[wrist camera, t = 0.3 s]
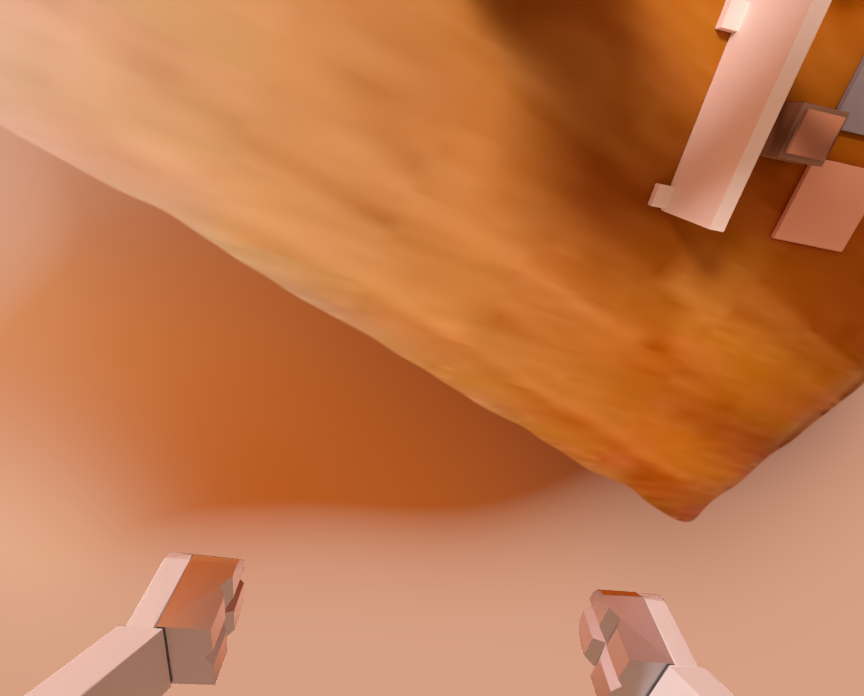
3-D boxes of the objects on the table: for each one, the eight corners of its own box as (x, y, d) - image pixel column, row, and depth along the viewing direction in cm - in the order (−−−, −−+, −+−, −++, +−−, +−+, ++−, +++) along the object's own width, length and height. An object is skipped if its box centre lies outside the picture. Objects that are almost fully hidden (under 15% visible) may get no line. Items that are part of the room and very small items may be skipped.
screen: (727, -5, 45) (805, -34, 36) (774, 8, 45) (862, -19, 36) (646, 207, 53) (692, 225, 44) (686, 215, 54) (740, 235, 45)
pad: (811, 156, 51) (815, 157, 51) (883, 172, 52) (888, 173, 52) (770, 237, 55) (773, 238, 55) (837, 250, 56) (841, 252, 56)
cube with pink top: (771, 102, 49) (807, 101, 45) (814, 112, 50) (853, 112, 45) (748, 153, 51) (780, 157, 47) (789, 162, 52) (824, 167, 47)
